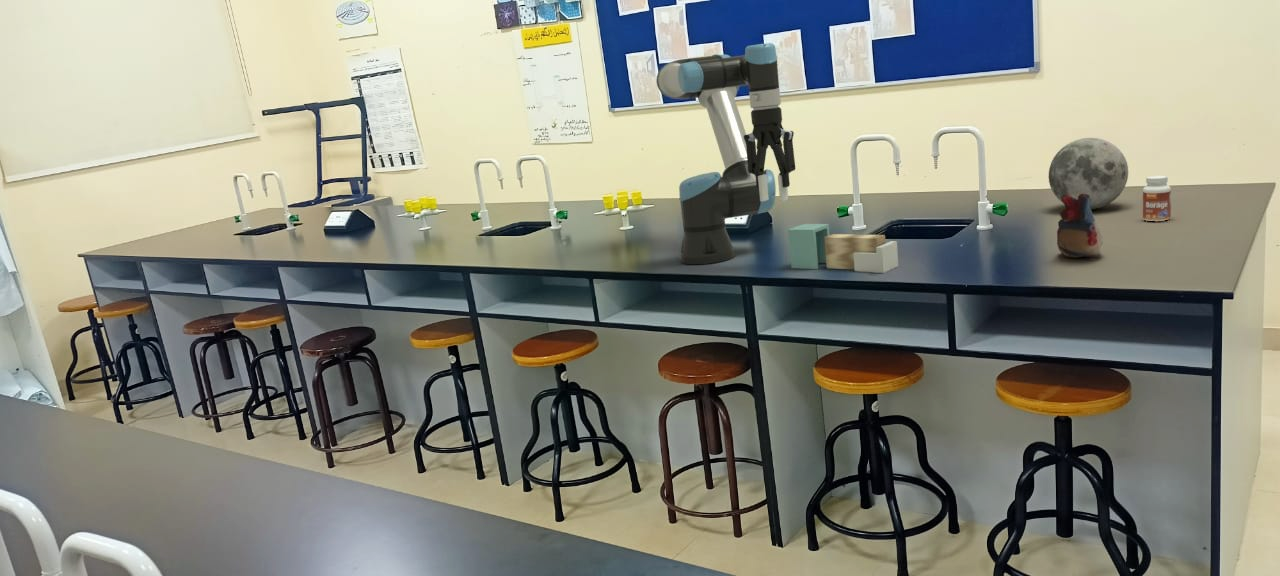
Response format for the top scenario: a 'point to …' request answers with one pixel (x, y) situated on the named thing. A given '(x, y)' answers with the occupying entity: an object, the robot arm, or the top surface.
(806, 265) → the cap
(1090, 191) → the moon model
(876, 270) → the white stepped block
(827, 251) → the wooden block
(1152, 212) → the pill bottle
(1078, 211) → the anatomical model
